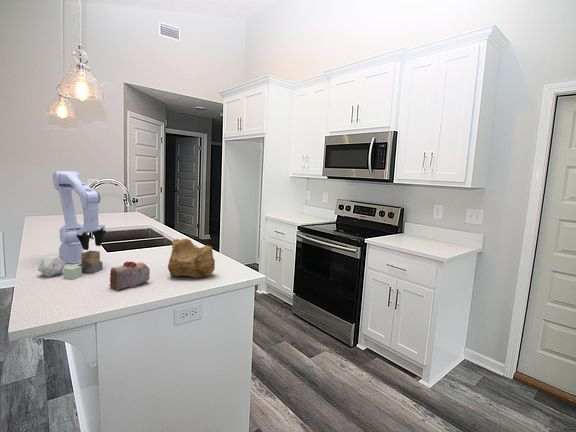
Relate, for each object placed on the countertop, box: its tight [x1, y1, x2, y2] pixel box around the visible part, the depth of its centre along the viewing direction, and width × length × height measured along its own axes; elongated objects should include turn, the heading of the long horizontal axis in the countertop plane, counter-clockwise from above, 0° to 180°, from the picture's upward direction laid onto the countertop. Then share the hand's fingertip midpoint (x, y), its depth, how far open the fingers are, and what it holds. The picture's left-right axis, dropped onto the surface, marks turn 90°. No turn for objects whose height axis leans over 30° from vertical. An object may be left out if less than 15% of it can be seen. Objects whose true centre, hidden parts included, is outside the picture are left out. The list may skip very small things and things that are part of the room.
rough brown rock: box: [167, 238, 216, 279], centre depth 145 cm, size 23×17×15 cm
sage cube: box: [62, 265, 83, 281], centre depth 137 cm, size 4×4×4 cm
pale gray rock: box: [37, 254, 67, 278], centre depth 138 cm, size 8×9×10 cm
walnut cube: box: [81, 250, 101, 265], centre depth 145 cm, size 5×5×5 cm
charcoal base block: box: [78, 260, 103, 275], centre depth 145 cm, size 6×6×4 cm
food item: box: [109, 261, 151, 291], centre depth 130 cm, size 14×8×10 cm, turn 144°
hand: (92, 247), depth 146 cm, fingers open, 7 cm apart
